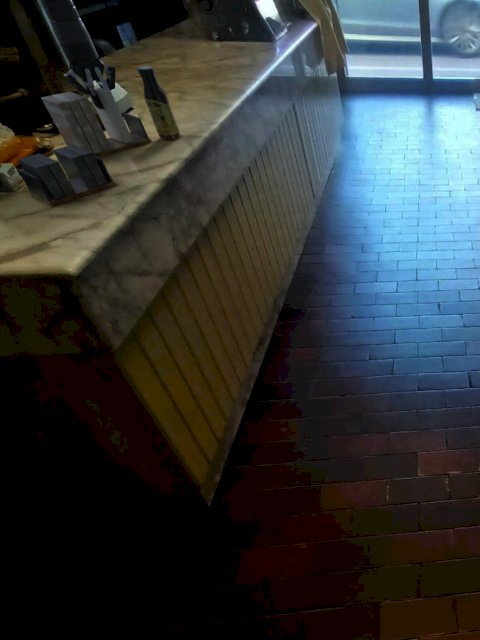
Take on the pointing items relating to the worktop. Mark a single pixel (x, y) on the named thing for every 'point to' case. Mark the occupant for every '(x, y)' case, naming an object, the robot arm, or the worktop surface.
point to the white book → (112, 116)
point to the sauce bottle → (158, 105)
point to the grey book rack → (53, 183)
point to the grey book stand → (89, 125)
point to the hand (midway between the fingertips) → (106, 107)
